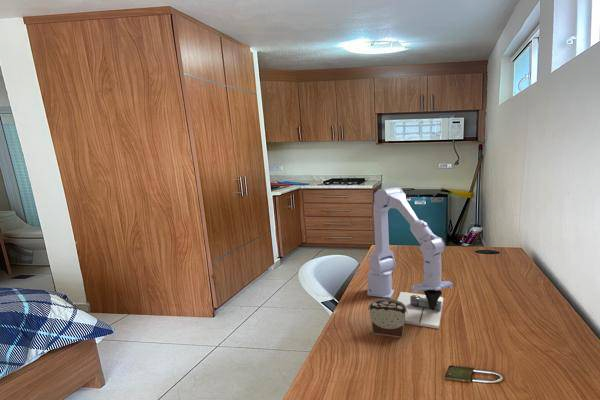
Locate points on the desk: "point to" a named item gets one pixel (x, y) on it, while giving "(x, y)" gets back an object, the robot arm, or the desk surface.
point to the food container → (387, 317)
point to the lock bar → (423, 302)
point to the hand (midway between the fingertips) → (432, 309)
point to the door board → (420, 312)
